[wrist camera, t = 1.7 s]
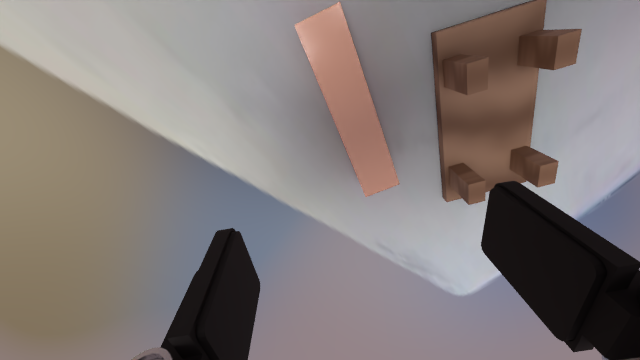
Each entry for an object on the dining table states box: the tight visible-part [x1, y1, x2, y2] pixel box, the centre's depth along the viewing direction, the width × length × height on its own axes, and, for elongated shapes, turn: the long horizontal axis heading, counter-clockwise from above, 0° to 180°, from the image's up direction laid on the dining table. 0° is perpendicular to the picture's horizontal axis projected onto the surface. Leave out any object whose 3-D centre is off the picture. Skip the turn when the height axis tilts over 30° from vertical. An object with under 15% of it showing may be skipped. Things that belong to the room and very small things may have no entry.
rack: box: [431, 0, 582, 205], centre depth 25 cm, size 18×9×5 cm, turn 16°
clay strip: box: [294, 2, 400, 197], centre depth 24 cm, size 16×4×4 cm, turn 23°
